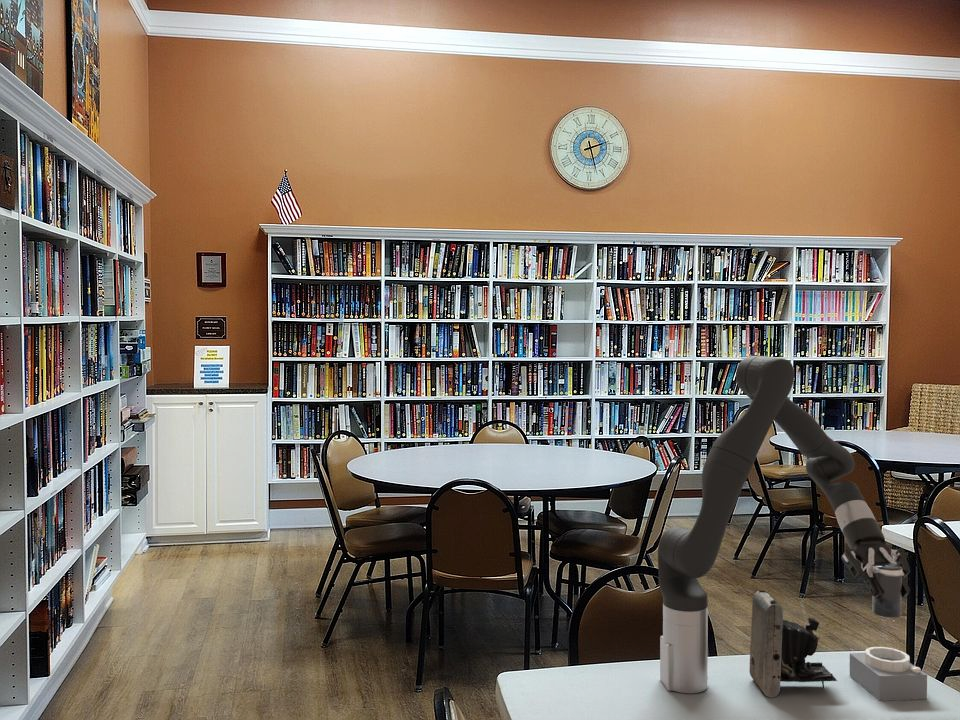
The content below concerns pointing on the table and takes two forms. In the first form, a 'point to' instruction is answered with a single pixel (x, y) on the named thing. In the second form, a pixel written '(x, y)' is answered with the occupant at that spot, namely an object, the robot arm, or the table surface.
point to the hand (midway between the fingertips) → (892, 595)
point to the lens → (888, 589)
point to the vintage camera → (781, 648)
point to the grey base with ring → (888, 674)
